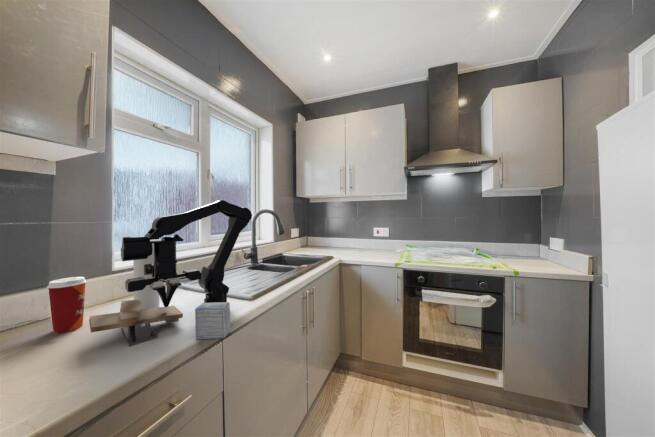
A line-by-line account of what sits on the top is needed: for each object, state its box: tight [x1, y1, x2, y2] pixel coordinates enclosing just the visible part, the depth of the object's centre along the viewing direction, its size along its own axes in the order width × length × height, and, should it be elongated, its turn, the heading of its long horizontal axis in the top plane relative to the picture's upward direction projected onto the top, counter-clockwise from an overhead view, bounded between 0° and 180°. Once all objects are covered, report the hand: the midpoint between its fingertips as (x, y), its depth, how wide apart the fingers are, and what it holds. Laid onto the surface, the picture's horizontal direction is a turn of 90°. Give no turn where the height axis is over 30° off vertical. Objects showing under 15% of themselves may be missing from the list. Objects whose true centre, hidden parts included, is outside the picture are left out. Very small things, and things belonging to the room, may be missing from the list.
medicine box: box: [194, 301, 231, 340], centre depth 66 cm, size 8×4×9 cm, turn 92°
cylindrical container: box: [132, 243, 160, 310], centre depth 84 cm, size 7×7×25 cm
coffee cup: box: [46, 276, 87, 334], centre depth 71 cm, size 8×8×15 cm
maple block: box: [119, 299, 142, 320], centre depth 67 cm, size 4×4×4 cm
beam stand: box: [121, 320, 158, 347], centre depth 68 cm, size 6×15×5 cm, turn 47°
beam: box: [88, 305, 184, 333], centre depth 68 cm, size 20×10×3 cm, turn 137°
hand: (166, 306), depth 73 cm, fingers closed
